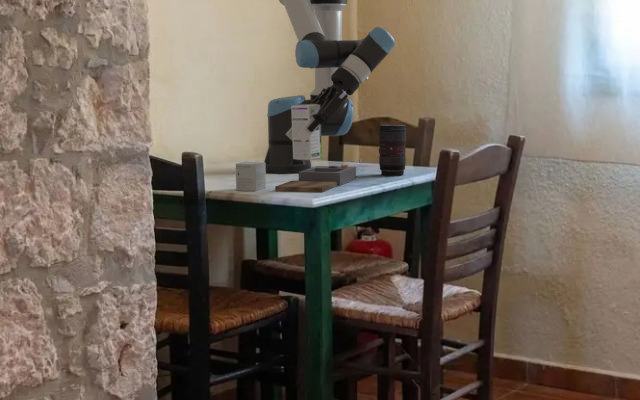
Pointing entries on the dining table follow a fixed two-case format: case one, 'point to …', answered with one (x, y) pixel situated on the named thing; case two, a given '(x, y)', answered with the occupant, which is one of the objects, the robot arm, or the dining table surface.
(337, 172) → the grey frame with knob
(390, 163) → the camera lens
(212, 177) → the dining table surface
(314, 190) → the walnut board
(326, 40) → the robot arm
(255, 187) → the product box
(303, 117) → the syrup box
